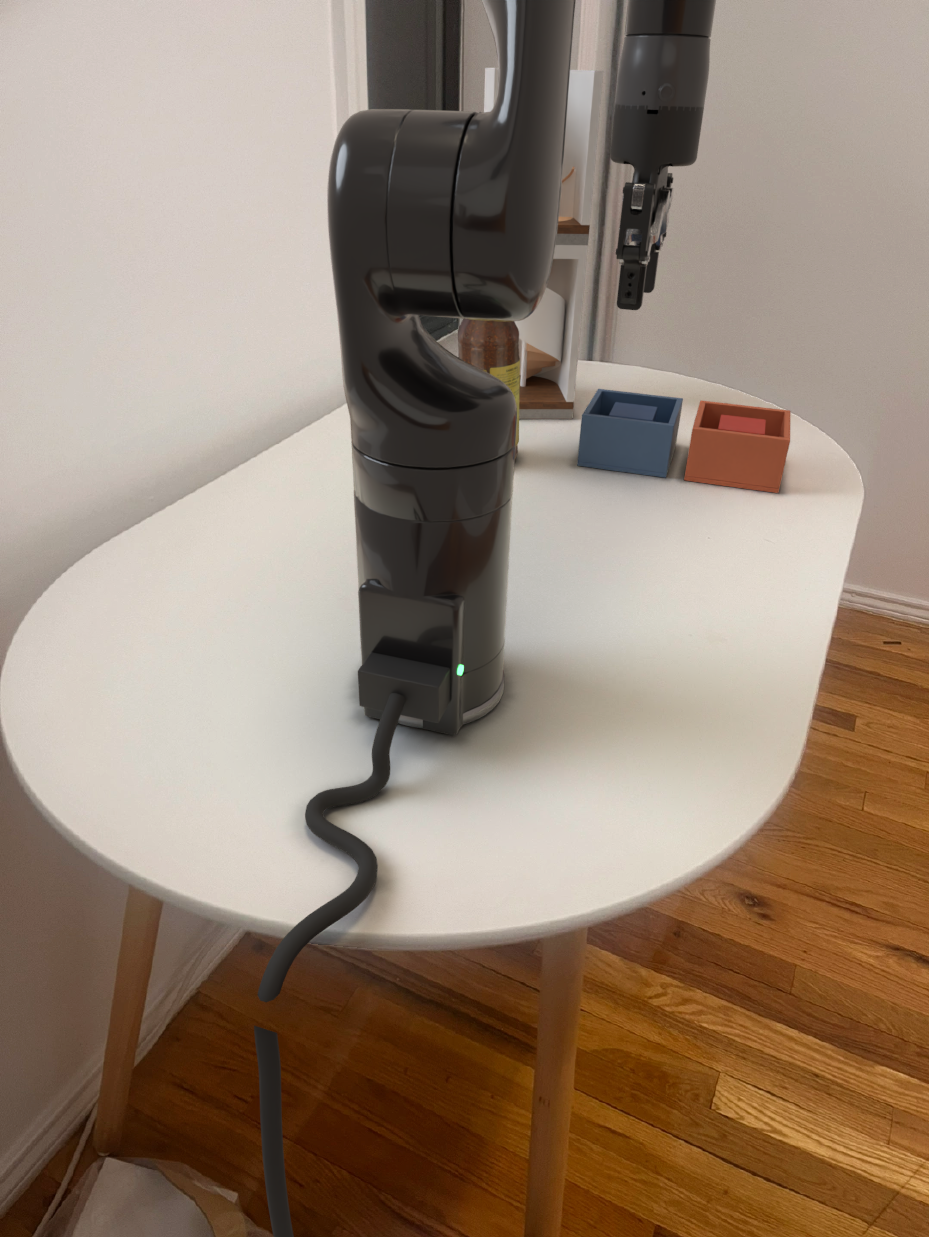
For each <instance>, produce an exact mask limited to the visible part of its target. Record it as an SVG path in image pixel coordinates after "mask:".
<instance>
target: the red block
mask: <svg viewBox="0 0 929 1237" xmlns="http://www.w3.org/2000/svg"><path fill="white" fill-rule="evenodd" d="M765 425H766V420H764V419H755V418H747V417H738V416H730V415H721V417H720V422H719V427H718V430H726V431H734V432H742V433H751V434H759V435H765Z"/></svg>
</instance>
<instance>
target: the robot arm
mask: <svg viewBox="0 0 929 1237" xmlns="http://www.w3.org/2000/svg"><path fill="white" fill-rule="evenodd" d="M576 2H577V0H481V3H482V6H483V9H484V12H485V15H486V18H487V21H488V24H489V28H490V30H491V34H492V37H493V40H494V45H495V52H496V58H497V68H498V92H497V99H496V103H495V105H494V107H493V109H492V111H490V112H484V111H483V112H482V111H469V110H468V111H465V110H463V111H462V110H439V109H438V110H437V109H434V110H433V109H411V108H409V109H408V108H407V109H405V108H404V109H403V108H402V109H401V108H370V109H364V110H359V111H357V112H355V113H352V114H351V115H350V116H349V117H348V118H347V119H346V120H345V121H344V123H343V124H342V125H341V127H340V129H339V131H338V133H337V135H336V138H335V141H334V144H333V147H332V151H331V155H330V160H329V168H328V175H327V187H326V189H327V190H326V197H327V198H326V199H327V202H326V203H327V206H326V207H327V213H326V214H327V230H328V242H329V255H330V265H331V273H332V274H331V275H332V281H333V289H334V299H335V307H336V316H337V327H338V336H339V337H338V338H339V347H340V348H339V349H340V361H341V362H340V363H341V375H342V376H341V377H342V383H343V384H342V386H343V394H344V397H345V402H346V406H347V410H348V415H349V421H350V422H349V423H350V439H351V443H350V444H351V461H352V478H353V479H352V480H353V483H352V484H353V507H354V508H353V509H354V525H355V527H354V528H355V544H356V545H355V547H356V549H355V550H356V564H357V565H356V566H357V567H356V568H357V585H358V586H357V587H358V590H357V596H358V597H357V599H358V601H357V602H358V618H359V637H360V638H359V641H360V658H361V659H360V660H361V666H360V667H359V668H358V670H357V683H358V701H359V702H358V704H359V707H362V708H363V715H364V716H365V717H368V718H371V719H377V720H379V722H378V725H377V727H376V731H375V734H374V738H373V742H372V747H371V762H372V773H371V774H370V776H369V777H368V778H367V779H366V780H365V781H363V782H361V783H358V784H355V785H349V786H343V787H334V788H329V789H325V790H322V791H320V792H318V793H316V794H315V796H313V797H312V798H310V799H309V801H308V803H307V804H306V807H305V812H304V819H305V823H306V826H307V828H308V830H310V832H312V834H314V835H315V836H316V837H318V838H319V839H321V840H322V841H323V842H326V844H329V845H330V846H333V847H334V848H336V849H339V850H340V851H342V852H344V853H345V854H347V855H349V857H351V858H352V859H353V860H355V863H356V864H357V868H358V869H357V874H356V876H355V878H354V880H353V882H351V884H350V886H349V887H347V888H346V889H345V890H344V891H343V892H341V893H340V894H338V895H337V896H335V897H334V898H332V899H330V900H329V901H328V902H326V903H324V904H323V905H321V906H320V907H318V908H317V909H315V910H313V911H312V912H311V913H309V914H308V915H307V916H305V917H304V918H303V919H301V920H300V921H299V922H298V923H297V924H296V925H295V926H294V927H293V928H292V929H291V930H290V931H289V932H288V933H287V934H285V935H284V938H282V940H281V941H280V942H279V944H278V945H277V946H276V948H275V950H274V951H273V954H272V955H271V957H270V959H269V961H268V963H267V965H266V967H265V970H264V973H263V975H262V977H261V981H260V984H259V987H258V991H257V997H258V999H259V1001H261V1002H264V1003H268V1002H272V1001H274V1000H275V999H276V998H277V997H278V996H280V994H281V990H282V988H283V985H284V982H285V980H286V977H287V975H288V972H289V970H290V968H291V966H292V964H293V963H294V961H295V959H296V958H297V957H298V955H299V954H300V952H301V951H302V950H303V949H304V948H305V946H307V945H308V944H309V943H310V942H311V941H312V940H313V939H314V938H315V937H317V936H318V935H319V934H321V933H322V932H323V931H325V930H326V929H328V928H329V927H331V926H332V925H333V924H335V923H336V922H338V921H340V920H342V919H343V918H344V917H346V916H347V915H349V914H350V913H351V912H352V911H354V910H355V909H356V908H358V907H359V906H360V905H362V903H363V902H364V901H365V900H366V899H367V898H368V897H369V895H370V894H371V893H372V891H373V890H374V887H375V884H376V882H377V876H378V870H379V868H378V867H379V864H378V860H377V859H378V858H377V855H376V854H375V852H374V850H373V849H372V848H371V847H370V846H369V845H368V844H367V843H366V842H365V841H363V840H362V839H361V838H359V837H358V836H356V835H355V834H353V833H351V832H350V831H347V830H345V829H343V828H342V827H340V826H337V825H335V824H334V823H332V822H331V821H329V820H328V819H327V818H326V817H325V815H324V813H325V811H326V810H328V809H331V808H336V807H343V806H349V805H350V806H351V805H355V804H360V803H363V802H366V801H368V800H370V799H372V798H374V797H375V796H377V795H378V794H379V793H380V792H381V791H382V790H384V788H385V787H386V785H387V784H388V782H389V780H390V776H391V758H390V752H391V747H392V743H393V738H394V735H395V732H396V728H397V726H398V724H399V725H403V726H405V727H412V728H417V729H423V730H427V731H432V732H435V733H439V734H445V735H449V736H455V735H457V734H458V733H459V731H460V729H461V728H462V727H463V726H464V725H466V724H469V723H472V722H475V721H477V720H479V719H481V718H482V717H484V716H486V715H487V714H488V713H491V711H492V710H493V709H495V708H496V706H497V705H498V704H499V703H500V700H501V699H502V698H503V694H504V690H505V689H504V688H505V670H504V662H505V661H504V660H505V644H506V643H505V642H506V625H507V624H506V623H507V622H506V621H507V605H508V604H507V603H508V585H509V567H510V566H509V564H510V547H511V530H512V513H513V512H512V511H513V492H514V479H515V464H516V463H515V462H516V459H515V441H516V426H517V406H516V401H515V397H514V395H513V393H512V391H511V390H510V389H509V387H508V386H507V385H506V384H505V383H503V382H502V381H501V380H500V379H498V378H496V377H495V376H493V375H491V374H489V373H487V372H485V371H483V370H481V369H479V368H477V367H475V366H473V365H471V364H469V363H467V362H466V361H464V360H462V359H460V358H458V357H459V356H457V355H455V354H454V353H452V352H451V351H449V350H448V349H447V348H445V346H443V345H442V344H441V343H439V342H438V341H437V340H436V339H435V338H434V337H433V336H432V334H430V333H429V332H428V330H427V329H426V328H425V326H424V324H423V322H422V321H421V317H420V316H426V317H437V318H448V319H449V318H450V319H462V320H463V319H471V320H485V321H504V322H510V321H520V320H524V319H525V318H527V317H529V316H530V315H531V314H532V313H533V312H534V311H535V309H536V308H537V307H538V305H539V303H540V301H541V299H542V297H543V295H544V293H545V290H546V286H547V283H548V280H549V277H550V272H551V268H552V263H553V258H554V252H555V245H556V238H557V230H558V219H559V209H560V198H561V187H562V174H563V160H564V146H565V132H566V118H567V104H568V91H569V78H570V70H571V65H572V64H571V63H572V51H573V38H574V37H573V36H574V26H575V25H574V24H575V14H576V13H575V12H576ZM716 2H717V0H627V8H626V17H625V26H624V36H625V37H624V38H623V44H622V49H621V55H620V59H619V64H618V70H617V78H616V88H615V97H614V98H615V99H614V110H613V120H612V129H611V139H610V148H609V158H610V160H611V161H612V162H613V163H615V164H620V165H630V166H632V167H633V174H632V180H631V182H629V181H626V182H625V183H624V186H623V188H622V202H621V203H622V204H621V213H620V220H619V221H620V222H619V228H618V230H619V231H618V237H617V238H618V239H617V248H616V249H615V255H616V260H618V264H619V265H620V270H619V277H618V278H619V279H618V288H617V298H616V307H617V308H618V309H620V310H625V311H627V310H628V311H638V310H640V309H641V308H642V305H643V301H644V294H645V293H646V294H650V293H652V292H653V291H654V289H655V286H656V280H657V272H658V271H657V270H658V264H659V257H660V252H661V251H662V248H663V247H664V241H665V238H666V237H667V233H668V232H667V230H668V226H669V223H670V222H669V221H670V209H671V207H672V204H673V198H674V187H672V184H673V183H674V177H673V172H669V167H675V168H676V167H689V166H693V165H694V164H695V163H696V161H697V159H698V154H699V146H700V140H701V132H702V124H703V118H704V111H705V103H706V98H707V90H708V83H709V74H710V62H711V61H710V59H711V58H710V56H711V55H710V54H711V52H710V51H711V37H712V31H713V23H714V17H715V10H716V4H717V3H716ZM631 243H633V244H631ZM253 1031H254V1044H255V1051H256V1059H257V1068H258V1084H259V1085H258V1086H259V1089H258V1090H259V1119H260V1120H259V1121H260V1136H261V1153H262V1164H263V1174H264V1176H263V1177H264V1184H265V1193H266V1199H267V1206H268V1213H269V1220H270V1225H271V1231H272V1237H295V1236H294V1230H293V1225H292V1218H291V1211H290V1205H289V1197H288V1188H287V1180H286V1169H285V1168H286V1166H285V1153H284V1137H283V1136H284V1134H283V1116H282V1111H283V1110H282V1065H281V1055H280V1054H281V1053H280V1046H279V1038H278V1033H277V1032H276V1031H274V1030H273V1031H272V1030H270V1029H266V1028H263V1027H261V1026H257V1025H253Z"/></svg>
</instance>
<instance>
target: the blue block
mask: <svg viewBox="0 0 929 1237" xmlns="http://www.w3.org/2000/svg"><path fill="white" fill-rule="evenodd" d="M657 408H658V407H654V406H645V405H637V404H628V403H619V402H615V404H614V406H613V408H612V410H611V412H610V414H609V416H612V417H620V418H628V419H636V420H644V421H653V422H656V415H657Z"/></svg>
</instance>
